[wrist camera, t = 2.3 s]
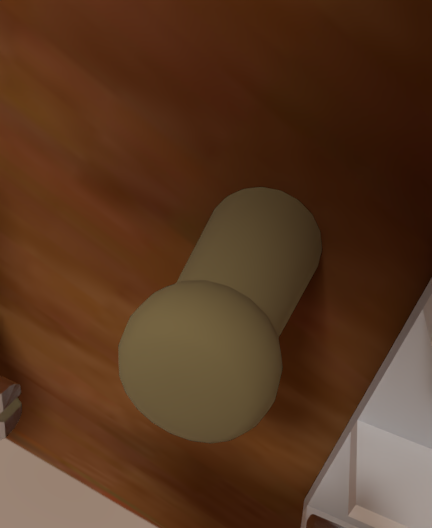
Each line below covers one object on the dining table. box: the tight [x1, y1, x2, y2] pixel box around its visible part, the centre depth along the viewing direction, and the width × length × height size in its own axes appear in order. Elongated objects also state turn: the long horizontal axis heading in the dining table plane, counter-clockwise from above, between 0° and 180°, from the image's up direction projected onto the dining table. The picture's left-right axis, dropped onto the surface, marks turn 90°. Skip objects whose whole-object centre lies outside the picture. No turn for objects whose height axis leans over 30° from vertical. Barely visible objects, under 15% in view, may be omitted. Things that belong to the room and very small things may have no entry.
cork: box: [119, 187, 322, 443], centre depth 16 cm, size 6×6×11 cm
